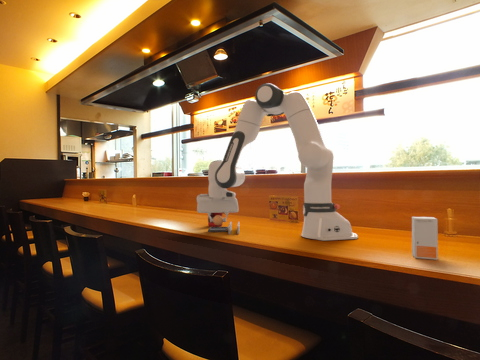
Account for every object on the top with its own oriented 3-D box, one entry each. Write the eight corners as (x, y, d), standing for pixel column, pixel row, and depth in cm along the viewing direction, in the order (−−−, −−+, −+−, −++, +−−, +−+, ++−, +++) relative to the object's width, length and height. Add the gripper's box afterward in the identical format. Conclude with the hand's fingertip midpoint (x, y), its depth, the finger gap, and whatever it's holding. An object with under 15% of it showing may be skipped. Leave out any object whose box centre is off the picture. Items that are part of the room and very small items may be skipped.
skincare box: (414, 258, 86) (413, 218, 86) (411, 255, 90) (411, 216, 90) (438, 260, 84) (437, 218, 84) (434, 256, 88) (434, 216, 88)
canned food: (223, 224, 161) (223, 204, 161) (221, 227, 153) (220, 206, 153) (209, 224, 162) (209, 204, 162) (206, 227, 154) (206, 206, 154)
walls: (239, 228, 147) (239, 221, 147) (238, 234, 131) (238, 226, 131) (230, 228, 148) (230, 221, 148) (228, 234, 132) (228, 226, 132)
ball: (223, 226, 140) (222, 215, 140) (212, 226, 140) (212, 215, 140) (223, 224, 145) (223, 214, 145) (213, 224, 145) (213, 214, 145)
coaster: (228, 228, 147) (228, 226, 147) (226, 231, 138) (226, 229, 138) (210, 229, 147) (210, 227, 147) (207, 232, 138) (207, 230, 138)
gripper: (195, 194, 140) (195, 223, 140) (238, 193, 139) (238, 222, 139) (197, 193, 146) (198, 221, 146) (238, 193, 146) (238, 220, 146)
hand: (218, 221), depth 143 cm, fingers closed on ball, 5 cm apart
